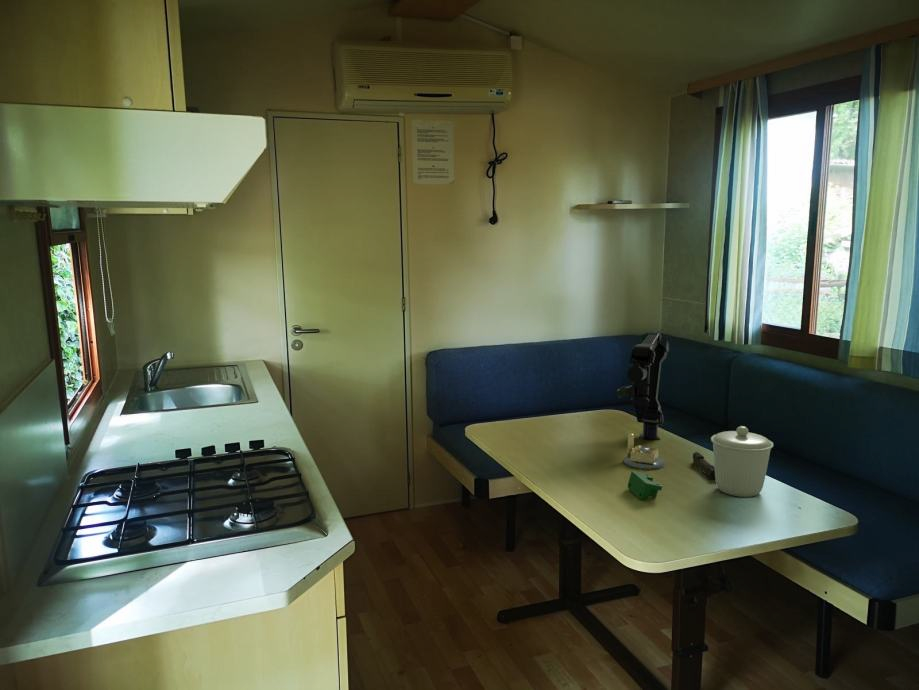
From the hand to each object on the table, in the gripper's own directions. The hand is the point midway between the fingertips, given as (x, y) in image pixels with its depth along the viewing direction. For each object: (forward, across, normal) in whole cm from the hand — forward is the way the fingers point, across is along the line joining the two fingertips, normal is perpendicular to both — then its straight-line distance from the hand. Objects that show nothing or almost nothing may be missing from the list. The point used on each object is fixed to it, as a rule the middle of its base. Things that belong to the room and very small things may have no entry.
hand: (638, 421), depth 259 cm
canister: (+14, +33, +32) cm, 48 cm away
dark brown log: (+13, +16, +22) cm, 30 cm away
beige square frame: (+11, +12, +2) cm, 16 cm away
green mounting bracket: (+16, +43, +3) cm, 46 cm away
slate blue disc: (+13, +12, +3) cm, 18 cm away
